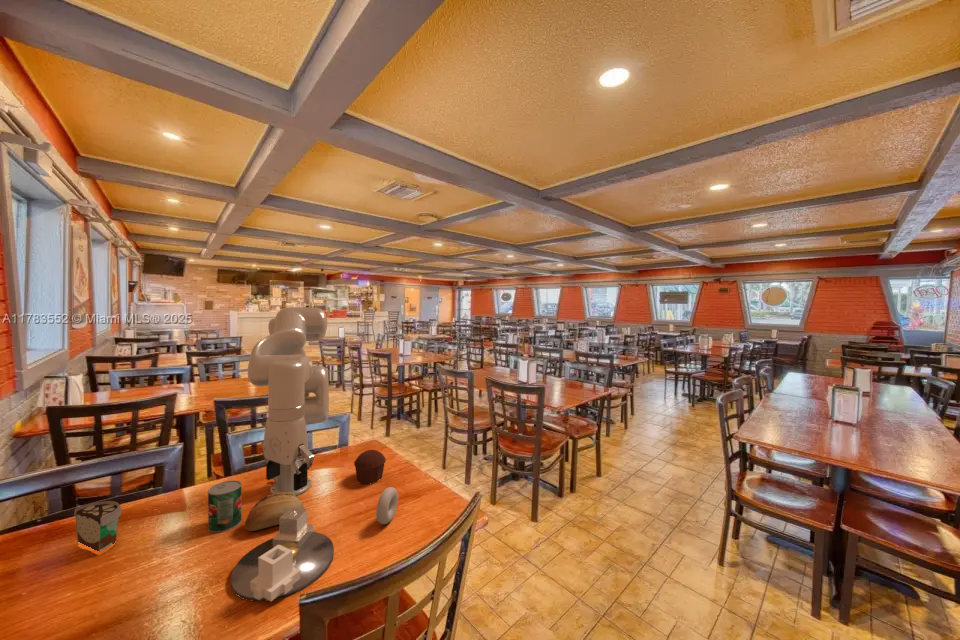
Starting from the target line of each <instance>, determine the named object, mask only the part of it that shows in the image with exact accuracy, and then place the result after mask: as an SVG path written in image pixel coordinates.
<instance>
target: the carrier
mask: <svg viewBox="0 0 960 640" xmlns="http://www.w3.org/2000/svg"><path fill="white" fill-rule="evenodd" d="M278 528H279V529H278V530H279V531H278V533H277V535H275V536H274V537H273V538H270V539H267V540H266V541H263V542H262V543H260V544H258V545H256V546H255V547H254V548H251V550H250V551H248V552H247V553H246V554H244V555H243V556H242V557H241V558H240V559H239V561H238V562H237V563H236V564H235V566H234V568H233V569H232V572H231V576H230V584H231V586H232V587H231V590H232V589H233V590H232V592H233V591H234V592H235V593H236V594H237V595H239V596H240V597H242V598H244V599H247V600H246V601H248V600H253V601H252V602H255V601H263V602H267V601H266V600H267V599H265V598H264V597H263V598H261V599H260V600H258V599H256V598H254V592H253V591H251V590H250V581H251V580H253V579H254V578H255V577H257V576H258V557H260V556H261V555H263V554H264V553H266V552H268V551H269V550H271V549H272V548H274V547H275V546H277V545H281V546H283V547H286V548H288V549H290V550H292V551H293V563H295V564H296V569H298V570H300V579H299V580H298V581H297V582H296V583H294V584H293V589H291V590H290V591H289V592H287V593H286V594H284V593H282V594H280V595H279V596H278V597H276V598H275V599H276V600H279V598H280V599H283V598H286V597H289V596H292V595H294V594H297V593H299V592H300V591H302V590H304V589H306V588H308V587H310V586H311V585H313V584H314V583H315V582H317V581H318V580H319V579H320V578H321V577H322V576H323V575H324V574H325V573H326V572H327V570H329V568H330V566H331V564H332V562H333V559H334V552H335V549H334V548H335V547H334V543H333V541H332V539H330V538H329V536H327V535H325V534H323V533H320V532H318V531H314V524H309V523H308V508H304V509H299V508H290V509H289V510H288V511H287V512H286V513H285V514H284V515H282V516H281V517H280V518H279V526H278ZM234 592H233V593H234ZM296 592H297V593H296ZM235 593H234V594H235ZM236 594H235V595H236ZM237 595H236V596H237ZM240 597H239V598H240ZM242 598H241V599H242ZM244 599H243V600H244Z"/></svg>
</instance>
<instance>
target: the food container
mask: <svg viewBox="0 0 960 640" xmlns="http://www.w3.org/2000/svg"><path fill="white" fill-rule="evenodd" d="M122 514H123V510H122V507H121V505H120V503H119V502H117V501H114V500H113V501H111V500H109V501H108V500H107V501H106V500H104V501H99V502H98V501H97V502H93V503H89V504H85V505H82V506H78V507H76V508H75V509H74V513H73V516H74V517H75V529H76V537H77V538H76V540H77V543H78V542H80V543H82V544H84V545H86V546H88V547H91V548H92V549H94V550H97V551H99V552H100V551H102V550H104V549H106V548H107V547H109V546H111V545H112V544H114V543H115V541H116V542H117V533H118V525H119V524H118V523H119V517H120V516H121V515H122ZM115 544H116V543H115Z"/></svg>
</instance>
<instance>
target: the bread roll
mask: <svg viewBox="0 0 960 640" xmlns="http://www.w3.org/2000/svg"><path fill="white" fill-rule="evenodd" d="M290 508H299V509H305V507H304V505H303V502H302V500H300V498H299V497H298V495H294V494H293V493H289V492H279V493H274V494H271V493H270V494H268V495H266V496H264V497H262V498H261V499H260V500H258V501H257V502H256V503H255V505H253V507H252V508H251V509H250V510H249V513H248V516H247V517H246V520H245V521H244V527H245V530H246V531H250V532H255V531H260V530H263V529H266V528H267V529H268V528H271V527H276V526H278V525H279V518H280V517H281V516H282V515H284V514H285V513H286V512H287V511H288V510H289V509H290Z"/></svg>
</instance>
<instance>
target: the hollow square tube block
mask: <svg viewBox="0 0 960 640" xmlns="http://www.w3.org/2000/svg"><path fill="white" fill-rule="evenodd" d="M299 579H300V570H298V569H296V564H295V563H293V551H292V550H290V549H288V548H286V547H283V546H281V545H277V546H275V547H274V548H272V549H271V550H269V551H268V552H266V553H264V554H263V555H261V556H260V557H258V576H257V577H255V578H254V579H253V580H251V581H250V590H251V591H253V592H254V598H256V599H258V600H260V599H261V598H263V597H264V598H265V599H267V600H269V601H268V602H272V601H275V600H274V599H275V598H276V597H278V596H279V595H280V594H282V593H284V594H286V593H287V592H289V591H290V590H291V589H293V584H294V583H296V582H297V581H298V580H299Z"/></svg>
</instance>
